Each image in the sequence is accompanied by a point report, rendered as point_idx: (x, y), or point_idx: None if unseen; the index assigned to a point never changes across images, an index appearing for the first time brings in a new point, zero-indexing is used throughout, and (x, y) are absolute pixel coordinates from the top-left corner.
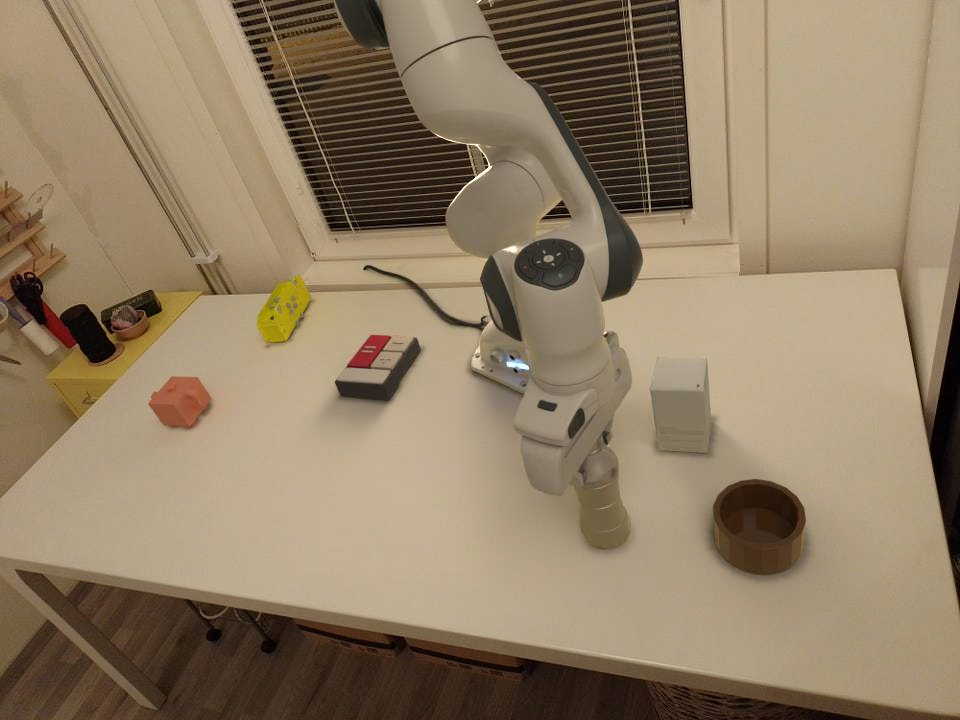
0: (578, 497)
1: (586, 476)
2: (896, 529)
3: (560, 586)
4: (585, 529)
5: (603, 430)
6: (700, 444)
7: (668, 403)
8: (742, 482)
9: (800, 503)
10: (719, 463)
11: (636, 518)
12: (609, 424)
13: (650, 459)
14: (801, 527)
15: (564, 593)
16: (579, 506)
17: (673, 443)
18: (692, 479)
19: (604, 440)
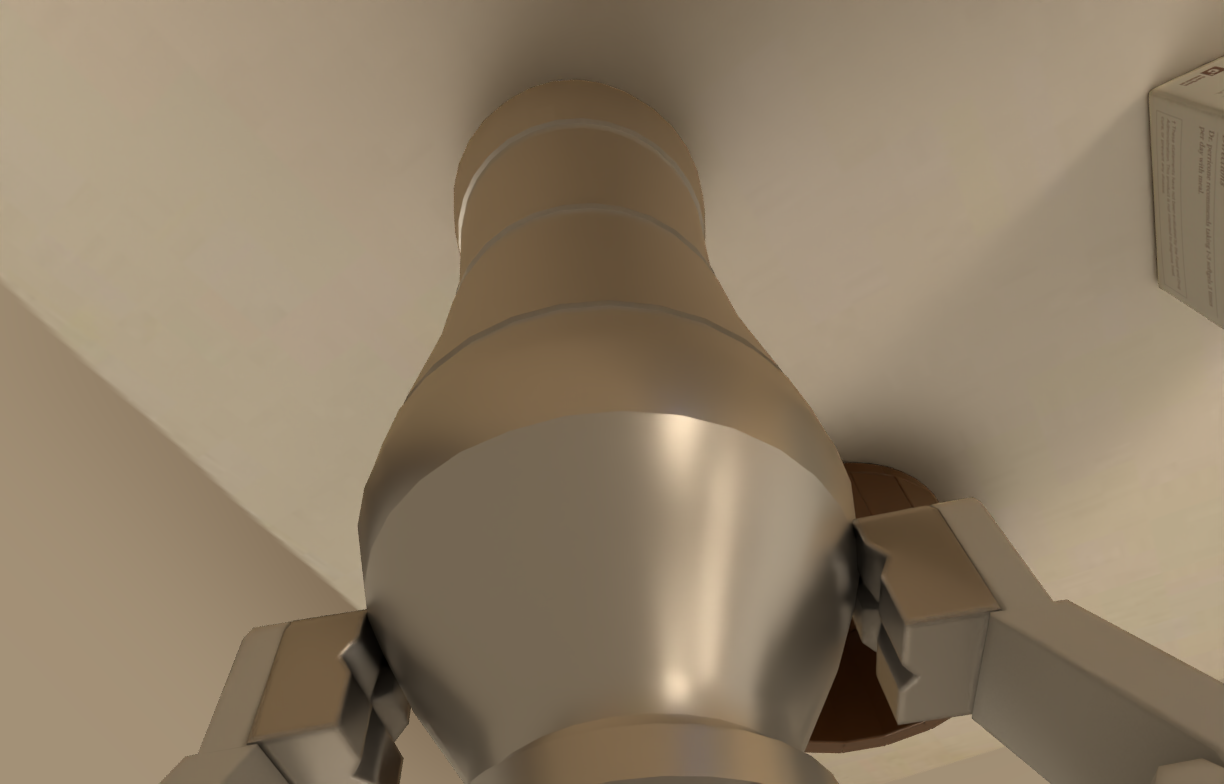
0: (447, 317)
1: (402, 727)
2: (969, 716)
3: (220, 173)
4: (455, 211)
5: (982, 677)
6: (1195, 291)
7: None
8: None
9: (945, 718)
10: (1108, 342)
11: (720, 233)
12: (1064, 781)
13: (1078, 85)
14: (858, 747)
15: (212, 210)
16: (490, 200)
17: (1190, 183)
18: (1000, 304)
19: (878, 633)
